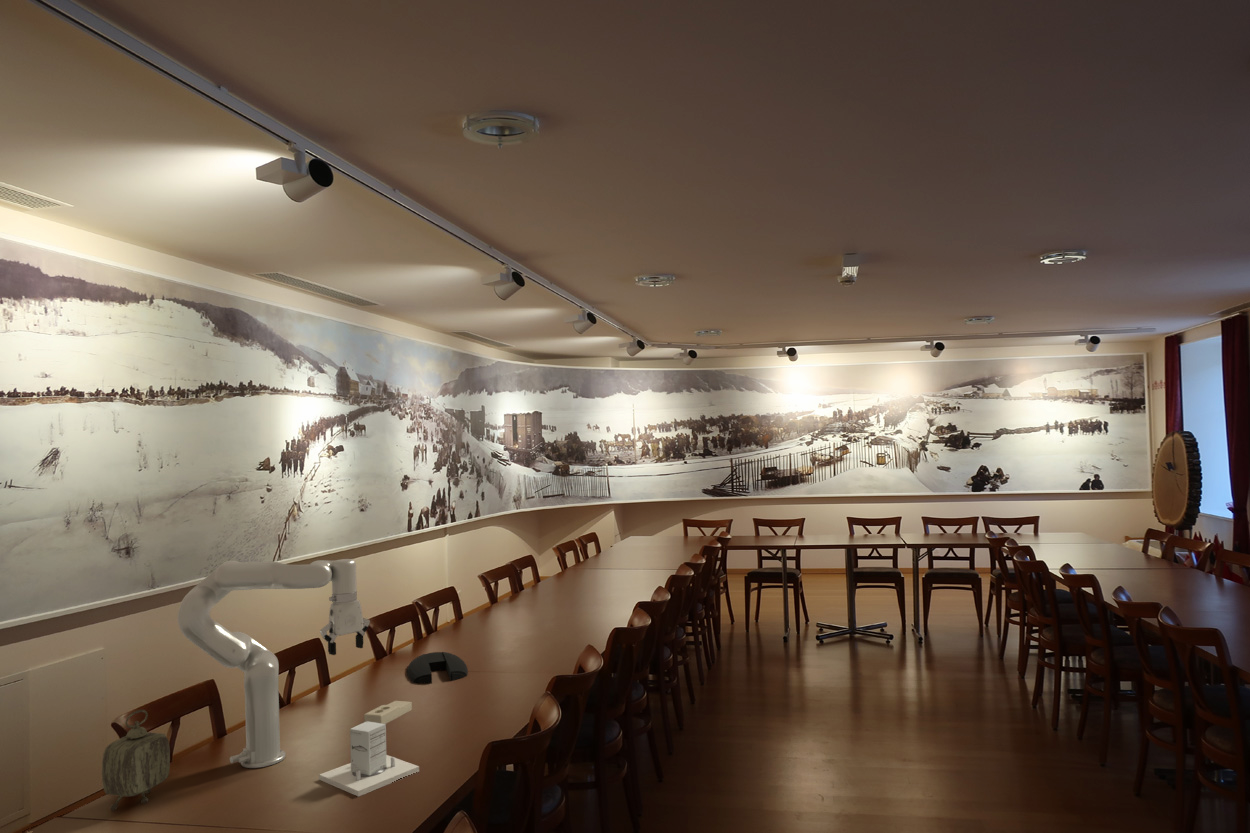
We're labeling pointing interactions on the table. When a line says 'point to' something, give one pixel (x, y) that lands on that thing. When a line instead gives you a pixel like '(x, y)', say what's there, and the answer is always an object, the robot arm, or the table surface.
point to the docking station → (436, 667)
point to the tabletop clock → (135, 762)
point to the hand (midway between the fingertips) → (346, 651)
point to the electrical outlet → (388, 712)
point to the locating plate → (365, 783)
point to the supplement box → (368, 747)
